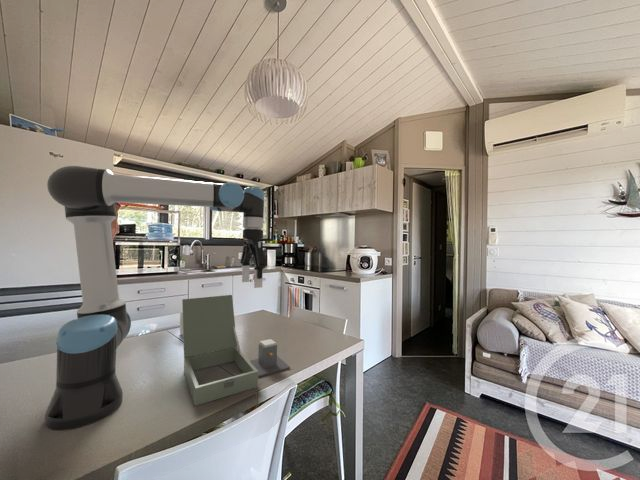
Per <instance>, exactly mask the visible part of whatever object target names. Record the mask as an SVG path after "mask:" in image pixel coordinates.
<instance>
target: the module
mask: <svg viewBox="0 0 640 480" xmlns="http://www.w3.org/2000/svg"><path fill="white" fill-rule="evenodd" d="M257 355H258V357H257V359H258V363H259V364H260V365H261V366H262V367H263V368H267V367H271V366H275V365H277V356H278V345H277V342H275V340H273V339H272V338H270V339H265V340H260V341H259V343H258V353H257Z"/></svg>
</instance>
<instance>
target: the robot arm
mask: <svg viewBox="0 0 640 480" xmlns="http://www.w3.org/2000/svg"><path fill="white" fill-rule="evenodd" d="M46 184H47V186H46V187H47V191H48V193H49V195H50V196H51V197H52V199H53V200H54V201H55V202H57V204H59V205H61V206H63V207H64V215H65V219H66V220H67V221H69V223H72V225H73V228H74V237H75V238H74V239H75V246H76V247H75V248H76V254H77V255H76V256H77V265H78V272H79V273H78V274H79V282H80V290H81V291H80V292H81V298H82V299H81V300H82V305H81V306H80V307H79V308H78V309H77V310H76V317H77V319H72V320H69V321H68V322H66V323H64V324H63V325H62V326H60V329H59V330H58V332H57V337H56V338H57V339H56V343H55V344H56V377H55V378H56V380H55V381H56V383H55V384H56V385H55V386H56V387H55V389H54V392H53V395H52V397H51V399H50V401H49V404H48V406H47V407H46V408H47V409H46V410H45V414H44V416H45V417H44V425H46V426H47V427H48V428H47V427H46V426H45V427H46V428H47V429H49V428H50V430H53V429H54V430H53V431H62V430H63V431H65V430H66V431H67V430H72V429H77V428H81V427H84V426H88V425H91V424H93V423H95V422H97V421H100V420H101V419H104V418H105V417H107V416H110V415H111V414H112V413H113V412H115V411H116V410H117V409H118V408H119V407H120V406H121V405H122V403H123V395H124V394H123V389H122V386H121V384H120V381H119V379H118V376H117V374H116V373H117V372H116V365H117V359H116V358H117V349H118V347H119V346H120V345H121V343H122V342H123V341H124V340H125V338H127V336H128V334H129V332H130V331H131V330H130V329H131V326H132V320H131V316H130V314H129V313H128V311H127V305H126V301H125V300H123V299H121V297H120V296H119V286H118V278H117V277H118V276H117V268H116V259H115V251H114V250H115V249H114V240H113V231H112V222H114V221H115V220H116V219H117V214H116V213H117V211H116V210H117V209H116V207H117V204H118V203H121V204H122V203H124V204H125V203H126V204H143V205H160V206H161V205H163V206H164V205H166V206H167V205H168V206H181V207H182V206H186V207H189V206H190V207H206V208H209V209H210V210H211V211H216V212H226V213H227V212H228V213H230V212H231V213H241V214H242V227H243V230H242V239H243V240H244V241H243V247H242V251H241V252H242V253H241V257H240V264H241V267H242V271H241V272H242V273H241V282H242V283H249V282H250V272H251V271H250V267H251V263H250V261H251V259H253V261H254V262H253V263H254V265H255V266H254V268H253V271H254V278H253V279H254V281H253V283H254V284H253V285H254V287H253V288H254V289H258V288H259V289H260V288H263V273H264V269H266V267H267V265H266V259H265V253H264V243H263V241H260V240H263V239H264V230H263V229H264V224H265V221H264V212H265V210H264V208H265V191H264V190H263V189H262V188H260V187H253V186H251V187H250V186H247V187H245V188H244V189H243V188H242V186H241V185H240V184H239V183H236V182H234V181H233V182H232V181H230V182H225V183H218V182H217V183H215V182H205V181H195V180H184V179H174V178H173V179H172V178H171V179H170V178H164V177H163V178H162V177H149V176H139V175H138V176H137V175H128V174H127V175H126V174H118V173H117V174H116V173H113V172H112V171H111V170H110V169H107V168H105V169H104V168H94V167H86V166H80V165H66V166H63V167H60V168H57V169H56V170H55V171H52V173H51V174H50V175H49V177H48V179H47V183H46Z"/></svg>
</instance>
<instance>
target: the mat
mask: <svg viewBox="0 0 640 480" xmlns="http://www.w3.org/2000/svg"><path fill="white" fill-rule="evenodd" d="M249 361H250V362H251V363H252V365H253V366H254V367H255V368H256V369H257V370H258V379H259V378H262V377H266V376H269V375H272V374H276V373H279V372H283V371H286V370H290V369H291V367H290V365H288V364H287V363H286V362H285V361H284V360H283V359H282V358H280V357H279V356H278V355H277V365H275V366H271V367H267V368H263V367H262V366H261V365H260V364H259V363H258V358H255V359H250V360H249Z"/></svg>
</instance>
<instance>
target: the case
mask: <svg viewBox="0 0 640 480" xmlns="http://www.w3.org/2000/svg"><path fill="white" fill-rule="evenodd" d="M233 300H234V299H233V295H232V294H225V295H215V296H205V297H195V298H185V299H181V301H182V303H181V304H182V305H181V306H182V310H183V336H182V337H183V372H184V373H183V374H184V377H185V380H186V383H187V385H188V389H189V392H190V394H191V398H192V402H193V403H194V404H193V405H194V406H195V407H196V406H198V405H199V406H200V405H203V404H205V403H209V402H212V401H215V400H218V399H222V398H225V397H228V396H231V395H236V394H238V393H243V392H246V391H249V390H251V389H255V388H258V387H259V378H258V370H257V369H256V368H255V367H254V366H253V365H252V363H251V362H250V361H251V360H249V359H248V358H247V356H245V354H244V353H243V352H242V351H241V348H240V347H241V346H240V342H239V340H238V335H237V331H236V322H235V321H236V320H235V311H234V301H233ZM231 362H235V363H236V365H237V366H238V367H239V369H240V370H241V371H242V373H240V374H238V375H234V376H229V377H226V378H222V379H218V380H214V381H211V382H206V383H204V384H200V385H199V382H198V380H197V377H196V375H195V372H194V371H198V370H202V369H207V368H211V367H215V366H219V365H223V364H227V363H231Z"/></svg>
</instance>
